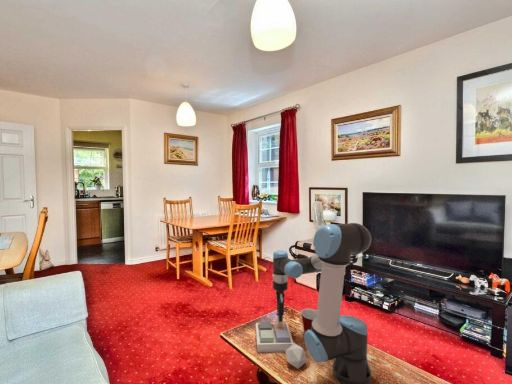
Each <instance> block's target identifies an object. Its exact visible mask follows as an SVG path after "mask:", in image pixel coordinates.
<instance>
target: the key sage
mask: <svg viewBox="0 0 512 384" xmlns="http://www.w3.org/2000/svg"><path fill="white" fill-rule="evenodd" d="M260 339H261V343H274V337H273V332H272V330H260Z"/></svg>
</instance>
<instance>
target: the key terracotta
mask: <svg viewBox="0 0 512 384" xmlns="http://www.w3.org/2000/svg"><path fill="white" fill-rule="evenodd" d="M273 329H274V334H275V330H286V327H285V324H283V327H278V326H277V324H273Z"/></svg>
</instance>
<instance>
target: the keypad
mask: <svg viewBox="0 0 512 384" xmlns="http://www.w3.org/2000/svg"><path fill="white" fill-rule="evenodd" d="M273 324H277V322H271V327H272V332H273V337H274V343H261V339H260V329H259V322H255V337H256V339H255V340H256V352H257V353H258V354H263V353H264V354H268V353H275V354H276V353H286V352H285V351H286V350H287V349H288V348H289V347H290V346H291V345H293V344H294V343H295V342H294V340H293V337H292V333H291V331H290V326H289V324H288V322H283V324H285V327H286V330H287V331H288V334H289V343H277V341H276V336H275V334H274V329H273Z"/></svg>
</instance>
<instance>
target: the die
mask: <svg viewBox="0 0 512 384" xmlns="http://www.w3.org/2000/svg"><path fill="white" fill-rule="evenodd" d="M293 343H294V344H293V345H291V346H290V347H289V348H288V349H287V350H286V351H285V352H284V353H285V354H286V355H285V356H286V360H287V363H288V364H289V365H292V366H293V367H294V368H295V369H297V370H299V369H300V368H301V367H302V366H303V365H304V364H305V363H307V361H308V359H307V355H306V352H305V350H304V348H303V347H301V346H300V345H299V344H296V343H295V342H293Z"/></svg>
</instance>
